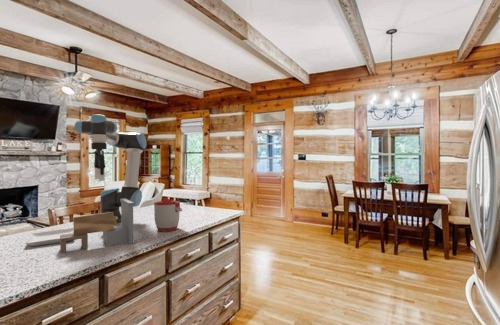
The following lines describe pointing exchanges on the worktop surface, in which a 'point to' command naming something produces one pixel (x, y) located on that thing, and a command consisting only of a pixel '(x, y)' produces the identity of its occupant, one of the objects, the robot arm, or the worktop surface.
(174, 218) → the citrus juicer
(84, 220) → the wooden board
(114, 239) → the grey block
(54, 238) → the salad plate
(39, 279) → the worktop surface
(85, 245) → the trestle
